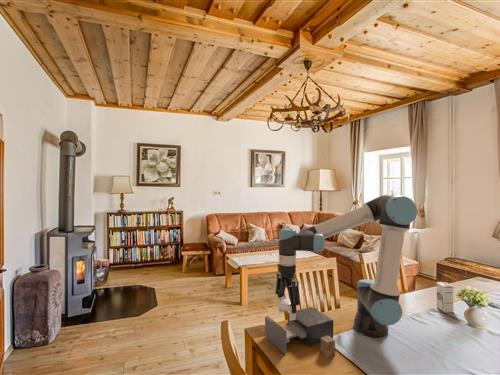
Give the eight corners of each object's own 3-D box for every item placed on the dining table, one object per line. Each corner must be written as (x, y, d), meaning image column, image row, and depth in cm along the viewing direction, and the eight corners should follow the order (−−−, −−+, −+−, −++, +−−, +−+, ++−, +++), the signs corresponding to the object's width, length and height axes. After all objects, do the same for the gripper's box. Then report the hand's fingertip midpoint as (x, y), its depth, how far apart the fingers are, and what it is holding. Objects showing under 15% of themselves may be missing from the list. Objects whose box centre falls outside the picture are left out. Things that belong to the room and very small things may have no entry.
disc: (274, 305, 124) (274, 300, 124) (289, 302, 128) (289, 297, 128) (284, 312, 117) (284, 307, 117) (299, 308, 121) (299, 304, 121)
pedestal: (328, 349, 116) (328, 335, 116) (335, 355, 112) (335, 340, 112) (320, 352, 114) (320, 337, 114) (327, 357, 110) (327, 342, 110)
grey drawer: (292, 328, 133) (292, 310, 133) (312, 344, 119) (312, 323, 119) (264, 336, 126) (264, 316, 126) (283, 353, 112) (283, 332, 112)
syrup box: (454, 312, 151) (454, 285, 151) (443, 312, 151) (443, 285, 151) (446, 307, 156) (446, 281, 156) (436, 307, 156) (436, 281, 156)
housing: (311, 324, 138) (311, 306, 138) (333, 338, 124) (333, 319, 124) (288, 330, 131) (288, 312, 131) (308, 346, 118) (308, 326, 118)
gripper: (267, 259, 130) (267, 308, 130) (294, 271, 111) (293, 328, 111) (281, 257, 133) (281, 305, 133) (309, 269, 115) (308, 324, 115)
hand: (286, 315), depth 122 cm, fingers closed on disc, 8 cm apart
